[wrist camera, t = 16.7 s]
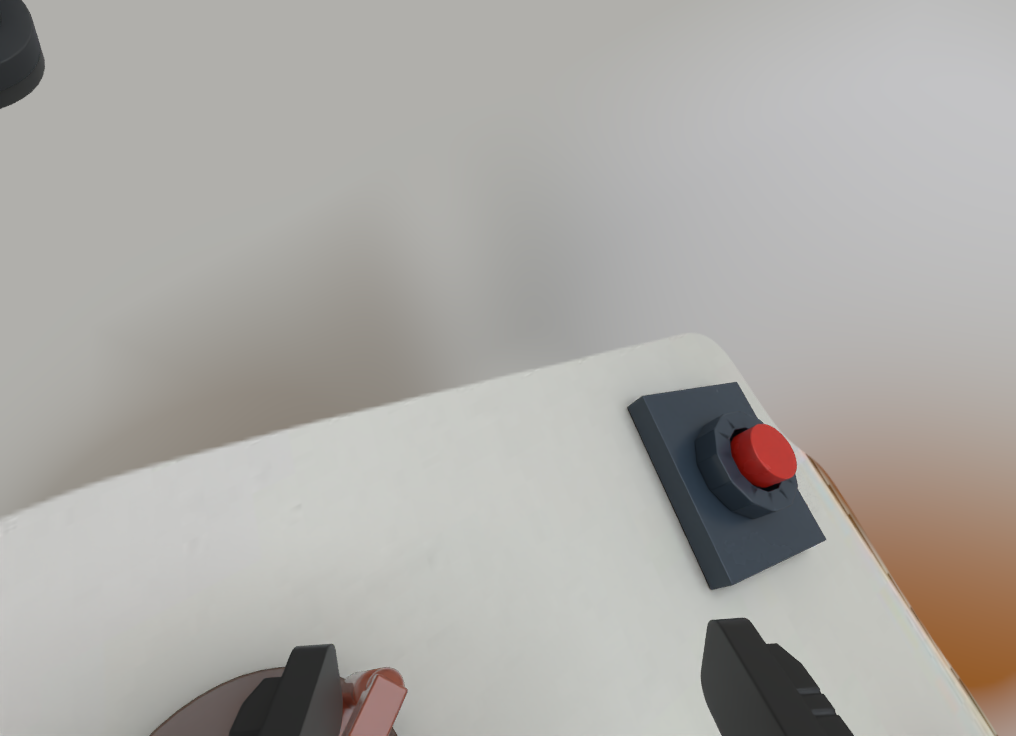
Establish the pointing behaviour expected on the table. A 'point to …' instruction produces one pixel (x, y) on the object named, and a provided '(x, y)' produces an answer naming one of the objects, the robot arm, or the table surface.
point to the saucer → (217, 708)
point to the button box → (721, 484)
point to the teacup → (371, 702)
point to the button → (763, 456)
